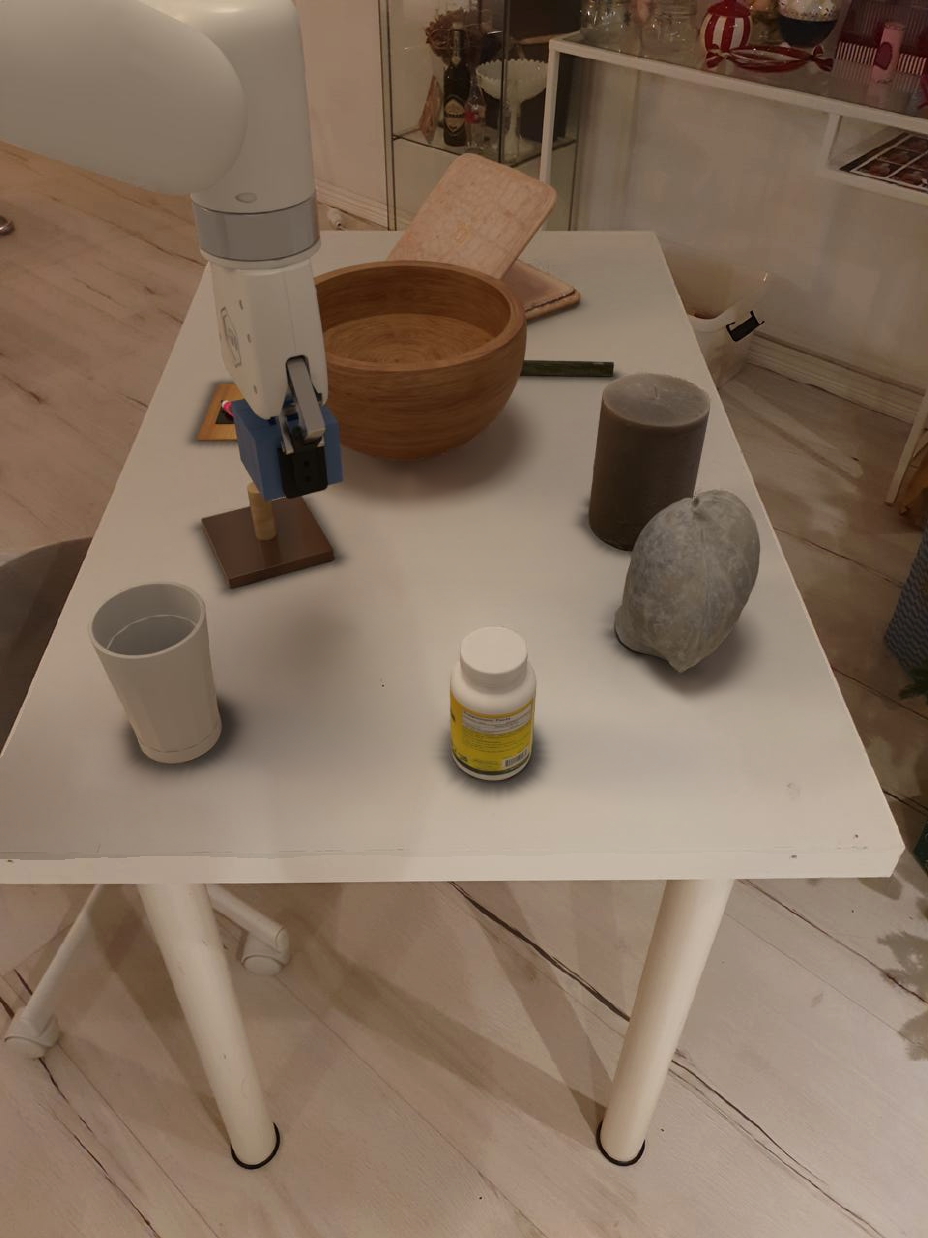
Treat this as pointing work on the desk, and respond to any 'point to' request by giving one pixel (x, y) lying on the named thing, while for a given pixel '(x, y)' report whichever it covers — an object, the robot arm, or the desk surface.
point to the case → (487, 229)
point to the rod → (567, 368)
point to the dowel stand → (266, 539)
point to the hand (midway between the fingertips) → (290, 466)
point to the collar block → (262, 443)
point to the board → (220, 415)
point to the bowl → (417, 354)
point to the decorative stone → (689, 578)
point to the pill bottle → (492, 704)
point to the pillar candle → (645, 452)
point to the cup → (160, 667)
